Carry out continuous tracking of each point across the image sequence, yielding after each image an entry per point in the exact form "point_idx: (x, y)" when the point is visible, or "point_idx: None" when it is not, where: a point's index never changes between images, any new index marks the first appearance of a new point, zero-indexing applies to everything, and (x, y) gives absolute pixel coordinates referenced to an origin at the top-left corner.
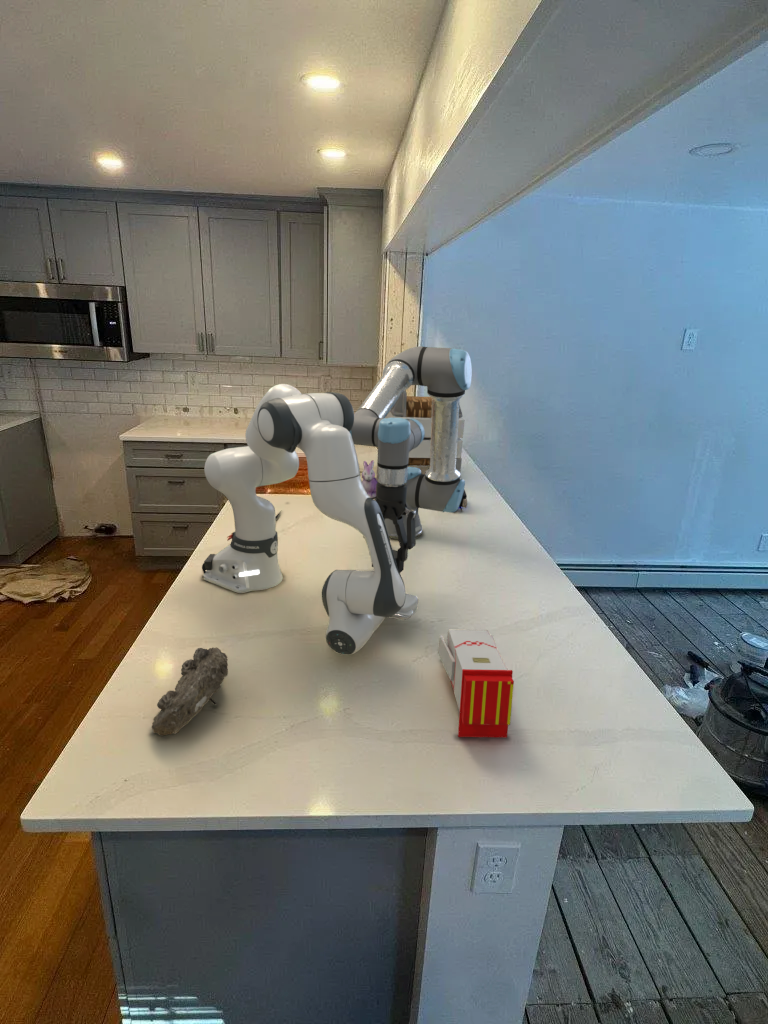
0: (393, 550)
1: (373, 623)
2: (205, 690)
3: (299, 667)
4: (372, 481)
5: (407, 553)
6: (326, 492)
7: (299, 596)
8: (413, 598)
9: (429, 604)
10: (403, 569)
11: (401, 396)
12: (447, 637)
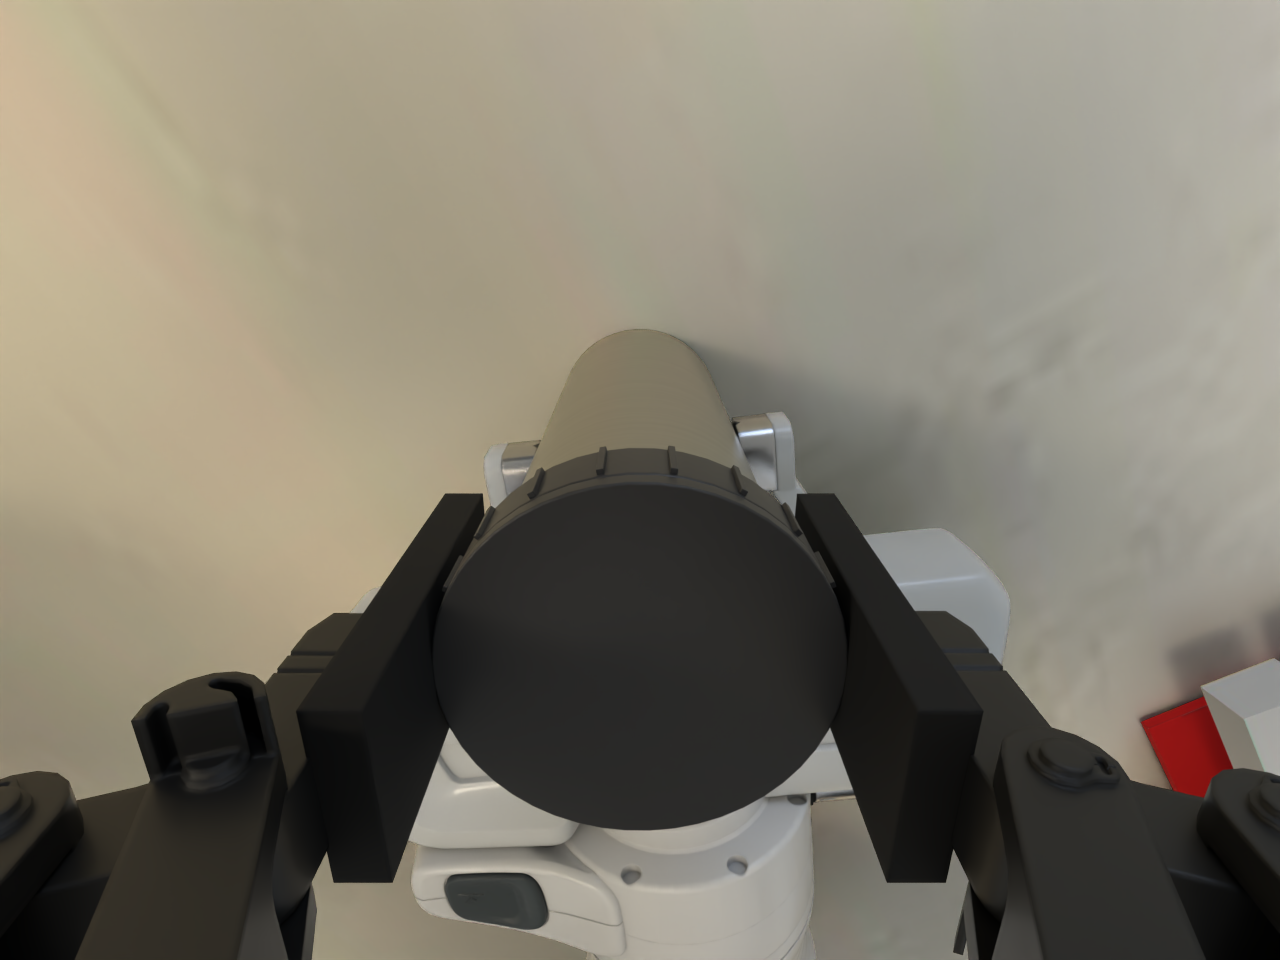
0: (651, 518)
1: (811, 958)
2: None
3: None
4: None
5: (1015, 693)
6: None
7: (63, 561)
8: (984, 642)
9: (919, 155)
10: (836, 499)
11: None
12: (1211, 695)
